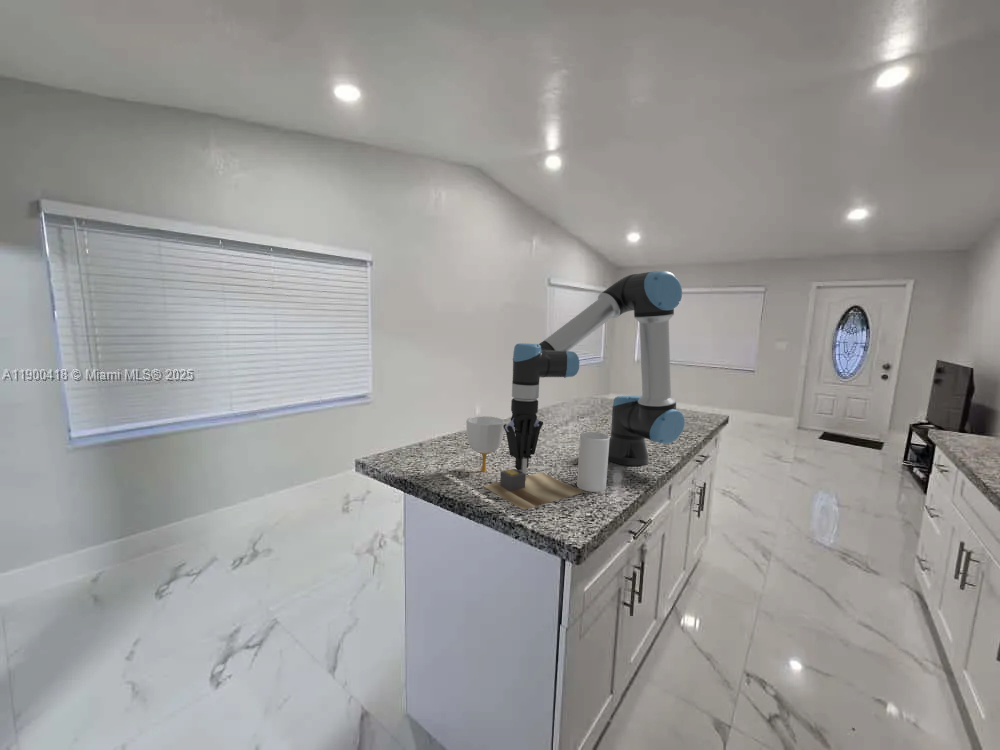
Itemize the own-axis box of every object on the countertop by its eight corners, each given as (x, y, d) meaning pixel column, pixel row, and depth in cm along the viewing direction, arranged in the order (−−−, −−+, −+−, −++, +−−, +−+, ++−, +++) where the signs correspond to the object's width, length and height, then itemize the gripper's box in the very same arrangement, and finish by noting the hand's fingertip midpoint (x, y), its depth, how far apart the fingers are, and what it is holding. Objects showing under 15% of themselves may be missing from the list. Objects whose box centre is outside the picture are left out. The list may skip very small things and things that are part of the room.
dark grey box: (514, 481, 123) (514, 467, 122) (524, 487, 119) (525, 472, 118) (500, 485, 120) (500, 470, 120) (510, 491, 116) (511, 475, 116)
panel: (541, 475, 132) (541, 472, 132) (584, 495, 118) (584, 491, 118) (482, 489, 119) (483, 485, 119) (523, 513, 105) (523, 509, 105)
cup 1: (475, 483, 123) (477, 426, 121) (458, 470, 133) (460, 417, 131) (509, 477, 129) (512, 422, 127) (490, 465, 139) (492, 415, 137)
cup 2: (611, 493, 120) (615, 438, 118) (586, 496, 117) (590, 440, 115) (594, 482, 128) (598, 431, 126) (571, 485, 125) (574, 432, 123)
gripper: (533, 394, 125) (530, 471, 128) (498, 398, 118) (495, 479, 120) (551, 399, 119) (546, 479, 122) (515, 402, 112) (511, 488, 114)
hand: (521, 479), depth 121 cm, fingers closed
